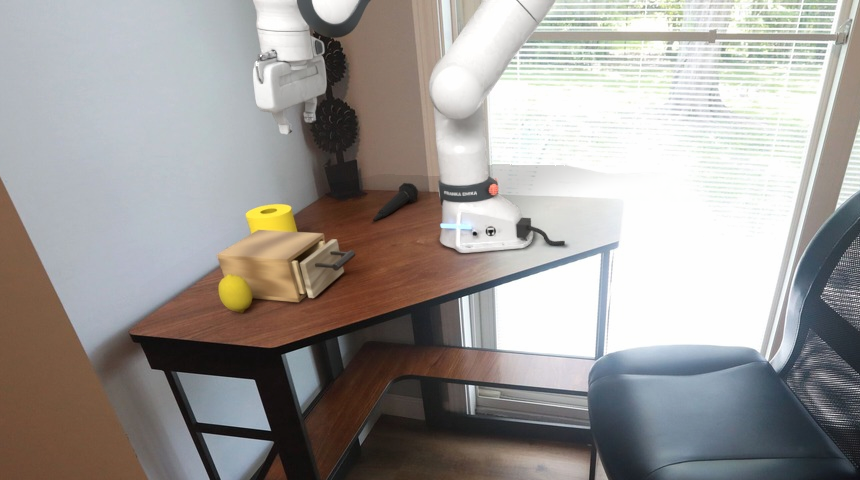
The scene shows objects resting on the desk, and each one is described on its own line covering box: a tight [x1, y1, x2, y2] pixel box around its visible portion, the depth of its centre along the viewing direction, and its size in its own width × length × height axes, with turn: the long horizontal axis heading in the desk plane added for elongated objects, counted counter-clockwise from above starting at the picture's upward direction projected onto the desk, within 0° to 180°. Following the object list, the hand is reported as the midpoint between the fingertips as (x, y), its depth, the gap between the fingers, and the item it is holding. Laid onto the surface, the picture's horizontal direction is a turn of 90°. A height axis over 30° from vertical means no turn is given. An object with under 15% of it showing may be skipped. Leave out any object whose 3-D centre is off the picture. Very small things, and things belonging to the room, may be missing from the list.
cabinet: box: [216, 230, 327, 303], centre depth 116 cm, size 16×14×9 cm
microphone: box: [372, 182, 419, 222], centre depth 155 cm, size 6×6×20 cm
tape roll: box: [245, 203, 298, 234], centre depth 133 cm, size 10×10×9 cm
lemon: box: [218, 274, 253, 314], centre depth 107 cm, size 6×6×8 cm
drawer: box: [290, 238, 356, 299], centre depth 115 cm, size 20×12×7 cm, turn 76°
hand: (298, 127), depth 110 cm, fingers open, 8 cm apart
